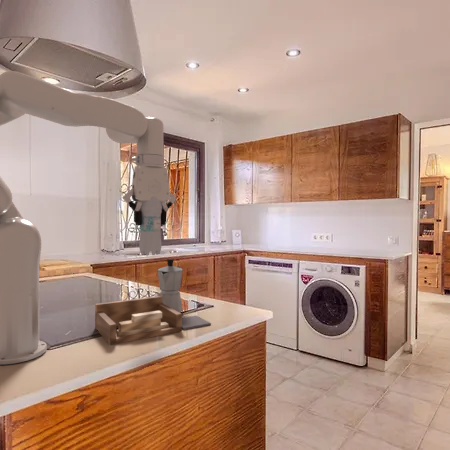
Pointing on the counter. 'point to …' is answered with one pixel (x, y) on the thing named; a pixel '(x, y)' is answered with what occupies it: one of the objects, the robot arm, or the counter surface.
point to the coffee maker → (170, 285)
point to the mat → (193, 322)
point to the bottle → (150, 227)
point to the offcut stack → (142, 323)
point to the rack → (123, 310)
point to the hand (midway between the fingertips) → (150, 224)
